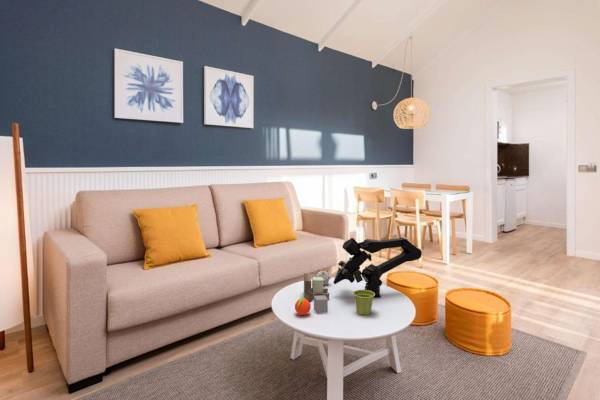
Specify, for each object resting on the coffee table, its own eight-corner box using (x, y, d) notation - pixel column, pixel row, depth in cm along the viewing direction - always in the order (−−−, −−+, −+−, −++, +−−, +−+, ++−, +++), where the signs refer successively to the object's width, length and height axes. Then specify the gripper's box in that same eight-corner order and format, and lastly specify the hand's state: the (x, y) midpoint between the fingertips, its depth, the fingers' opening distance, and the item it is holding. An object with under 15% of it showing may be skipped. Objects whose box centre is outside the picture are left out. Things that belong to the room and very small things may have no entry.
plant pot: (361, 318, 153) (361, 298, 152) (348, 310, 161) (348, 291, 160) (378, 314, 157) (379, 295, 156) (365, 306, 166) (365, 288, 165)
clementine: (305, 320, 151) (305, 303, 150) (290, 316, 154) (290, 300, 153) (313, 313, 158) (313, 297, 157) (299, 310, 161) (299, 294, 160)
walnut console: (327, 292, 183) (327, 273, 182) (329, 301, 171) (329, 281, 170) (303, 292, 183) (303, 273, 182) (304, 301, 171) (304, 281, 170)
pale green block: (322, 294, 180) (322, 277, 179) (323, 298, 175) (323, 280, 174) (312, 294, 180) (312, 277, 179) (312, 298, 175) (313, 280, 174)
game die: (325, 290, 197) (335, 275, 198) (324, 290, 189) (335, 274, 190) (311, 281, 199) (321, 265, 200) (310, 280, 191) (320, 264, 192)
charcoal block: (324, 308, 164) (324, 295, 163) (327, 312, 159) (327, 299, 158) (313, 308, 163) (313, 296, 162) (316, 313, 158) (316, 300, 157)
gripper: (372, 278, 167) (348, 301, 168) (364, 266, 186) (343, 287, 187) (355, 261, 166) (331, 285, 167) (349, 251, 185) (327, 273, 186)
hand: (334, 283), depth 177 cm, fingers closed
